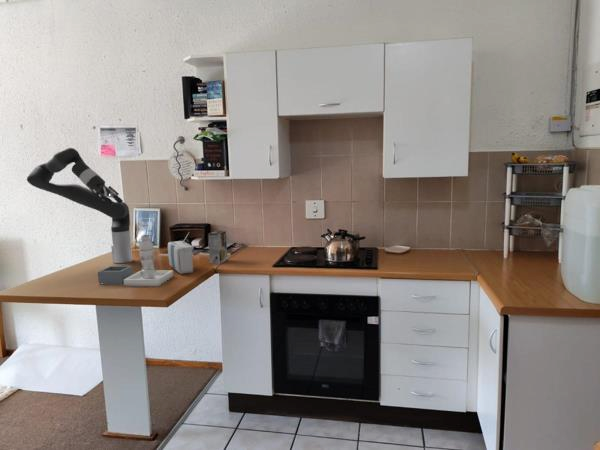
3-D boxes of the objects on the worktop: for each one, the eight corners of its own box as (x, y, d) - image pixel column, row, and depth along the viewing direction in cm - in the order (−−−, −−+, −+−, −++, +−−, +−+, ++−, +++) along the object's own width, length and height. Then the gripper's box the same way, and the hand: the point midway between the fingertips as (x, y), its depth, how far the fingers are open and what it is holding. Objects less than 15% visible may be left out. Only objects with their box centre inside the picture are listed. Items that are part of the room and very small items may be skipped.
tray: (124, 286, 189) (123, 279, 188) (141, 276, 204) (140, 270, 204) (159, 286, 187) (158, 279, 187) (173, 276, 203) (173, 270, 202)
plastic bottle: (141, 281, 191) (138, 237, 189) (141, 278, 198) (137, 235, 195) (157, 279, 194) (153, 236, 191) (155, 276, 200) (152, 234, 197)
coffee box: (217, 259, 236) (215, 230, 234) (227, 260, 234) (226, 230, 232) (209, 263, 227) (207, 233, 225) (220, 263, 226) (218, 233, 223)
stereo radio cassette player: (168, 267, 223) (165, 229, 220) (184, 264, 227) (181, 227, 224) (178, 275, 205) (175, 234, 202) (195, 273, 209) (192, 232, 206)
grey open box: (99, 284, 193) (97, 271, 192) (110, 278, 203) (109, 266, 202) (122, 284, 192) (121, 271, 191) (133, 278, 202) (132, 265, 201)
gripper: (96, 185, 215) (119, 207, 215) (78, 186, 201) (104, 210, 201) (105, 174, 214) (128, 196, 214) (88, 175, 200) (113, 199, 200)
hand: (116, 203), depth 208 cm, fingers open, 8 cm apart
